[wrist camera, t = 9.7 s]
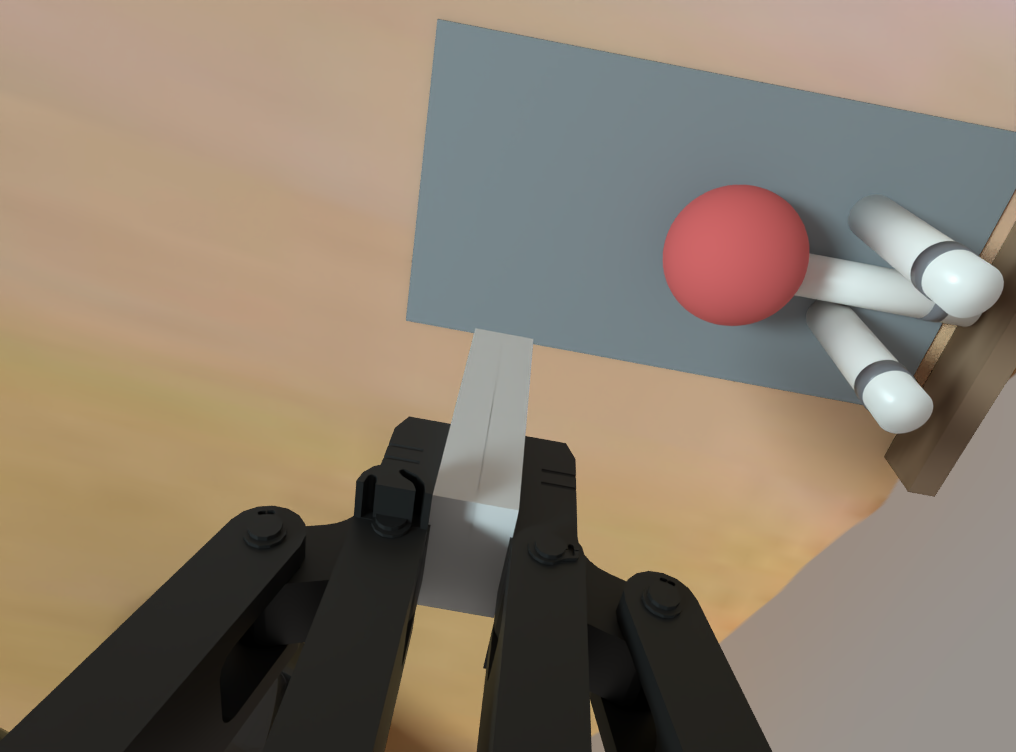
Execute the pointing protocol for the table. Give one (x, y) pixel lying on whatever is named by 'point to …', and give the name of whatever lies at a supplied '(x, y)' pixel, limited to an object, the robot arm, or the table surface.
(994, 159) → the plate
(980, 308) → the pin
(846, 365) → the pin
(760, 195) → the ball
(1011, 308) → the stopper wall
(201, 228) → the table surface
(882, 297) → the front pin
